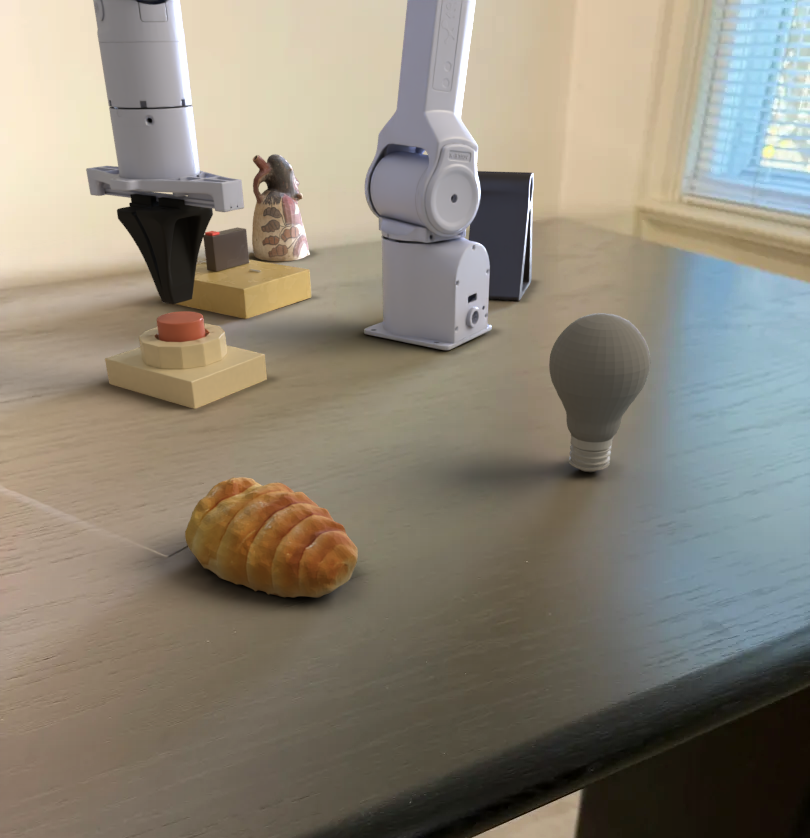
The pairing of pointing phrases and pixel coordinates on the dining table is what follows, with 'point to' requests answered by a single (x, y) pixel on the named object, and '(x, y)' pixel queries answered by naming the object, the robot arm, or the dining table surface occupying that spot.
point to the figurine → (277, 212)
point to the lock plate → (248, 288)
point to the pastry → (270, 539)
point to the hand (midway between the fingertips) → (177, 300)
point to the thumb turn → (226, 249)
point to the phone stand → (505, 231)
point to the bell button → (180, 326)
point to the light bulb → (597, 382)
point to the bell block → (186, 368)
